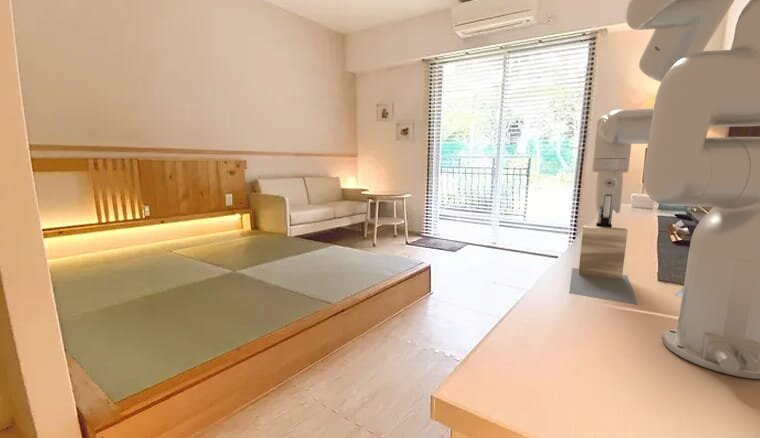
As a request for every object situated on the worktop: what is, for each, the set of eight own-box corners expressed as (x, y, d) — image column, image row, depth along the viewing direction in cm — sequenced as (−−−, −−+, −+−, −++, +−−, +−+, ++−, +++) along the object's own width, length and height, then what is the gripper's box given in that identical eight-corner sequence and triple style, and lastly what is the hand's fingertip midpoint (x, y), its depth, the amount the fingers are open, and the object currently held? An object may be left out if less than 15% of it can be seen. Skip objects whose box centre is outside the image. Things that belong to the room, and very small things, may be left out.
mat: (637, 306, 69) (637, 304, 69) (568, 295, 75) (569, 292, 75) (626, 277, 87) (627, 275, 87) (572, 269, 93) (572, 267, 93)
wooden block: (621, 279, 84) (627, 230, 82) (578, 273, 88) (583, 226, 86) (620, 276, 86) (626, 228, 84) (578, 270, 91) (583, 225, 89)
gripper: (632, 166, 78) (622, 246, 81) (625, 166, 91) (617, 235, 94) (593, 166, 82) (585, 242, 85) (592, 166, 95) (585, 232, 98)
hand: (602, 238), depth 90 cm, fingers closed
